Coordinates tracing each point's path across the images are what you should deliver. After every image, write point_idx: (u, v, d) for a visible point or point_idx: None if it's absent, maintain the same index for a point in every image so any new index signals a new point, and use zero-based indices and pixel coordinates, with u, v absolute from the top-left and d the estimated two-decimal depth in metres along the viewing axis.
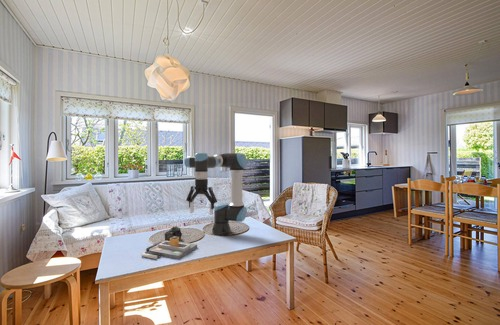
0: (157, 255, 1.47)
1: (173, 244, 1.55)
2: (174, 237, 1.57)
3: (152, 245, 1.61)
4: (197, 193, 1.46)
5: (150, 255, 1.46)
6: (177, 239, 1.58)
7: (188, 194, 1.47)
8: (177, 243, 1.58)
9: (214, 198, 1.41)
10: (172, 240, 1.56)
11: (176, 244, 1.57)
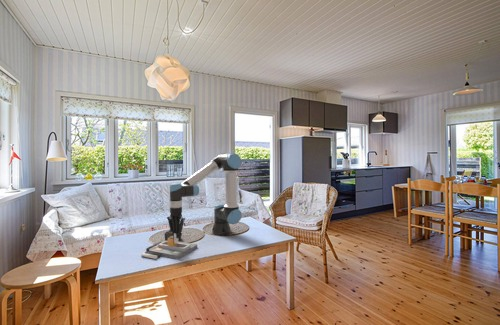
0: (157, 255, 1.47)
1: (171, 244, 1.56)
2: (172, 237, 1.58)
3: (152, 245, 1.61)
4: None
5: (150, 255, 1.46)
6: None
7: (169, 225, 1.58)
8: (175, 243, 1.58)
9: (180, 229, 1.55)
10: (170, 240, 1.56)
11: (174, 244, 1.57)
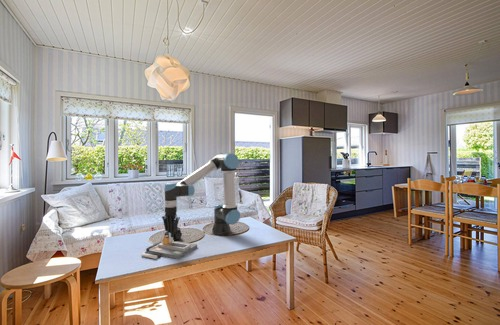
0: (157, 255, 1.47)
1: (166, 243, 1.58)
2: (167, 236, 1.59)
3: (152, 245, 1.61)
4: None
5: (150, 255, 1.46)
6: None
7: (164, 224, 1.59)
8: None
9: (175, 228, 1.57)
10: (165, 239, 1.58)
11: (169, 243, 1.59)
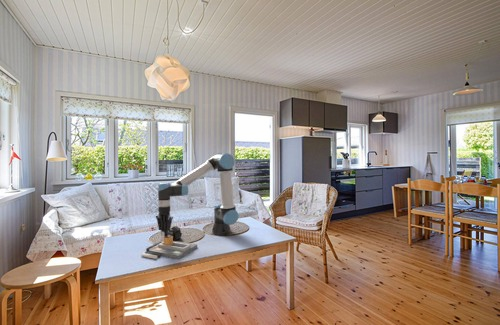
0: (157, 255, 1.47)
1: (167, 243, 1.57)
2: (168, 236, 1.59)
3: (152, 245, 1.61)
4: None
5: (150, 255, 1.46)
6: (171, 238, 1.60)
7: None
8: (171, 242, 1.60)
9: (168, 227, 1.59)
10: (166, 239, 1.57)
11: (170, 243, 1.59)
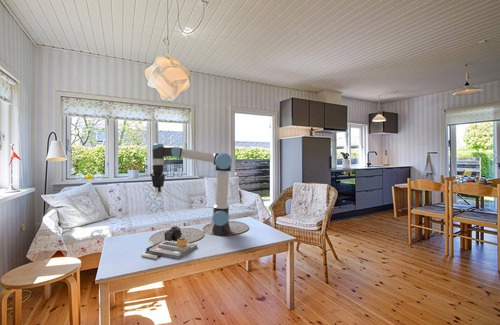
0: (157, 255, 1.47)
1: (181, 245, 1.53)
2: (181, 238, 1.55)
3: (152, 245, 1.61)
4: None
5: (150, 255, 1.46)
6: (184, 240, 1.56)
7: (152, 181, 1.79)
8: (184, 244, 1.56)
9: (162, 183, 1.76)
10: (180, 241, 1.54)
11: (184, 245, 1.55)
